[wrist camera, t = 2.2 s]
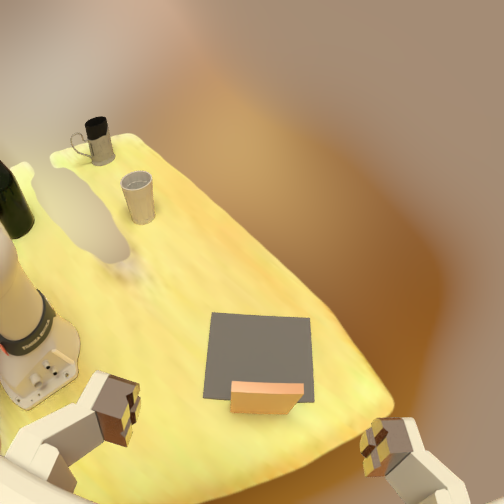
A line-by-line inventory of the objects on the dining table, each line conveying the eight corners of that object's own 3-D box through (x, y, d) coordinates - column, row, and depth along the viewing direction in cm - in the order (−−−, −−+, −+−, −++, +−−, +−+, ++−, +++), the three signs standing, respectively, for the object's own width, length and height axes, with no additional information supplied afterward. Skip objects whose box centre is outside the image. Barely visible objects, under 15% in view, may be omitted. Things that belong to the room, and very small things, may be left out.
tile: (286, 414, 51) (303, 393, 40) (230, 412, 51) (231, 391, 40) (286, 405, 52) (303, 382, 42) (230, 403, 52) (231, 380, 41)
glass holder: (118, 159, 99) (111, 120, 87) (81, 175, 92) (71, 137, 81) (110, 149, 103) (103, 113, 91) (75, 165, 96) (65, 128, 85)
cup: (163, 211, 83) (158, 175, 74) (146, 230, 78) (138, 193, 69) (141, 203, 84) (134, 167, 75) (123, 221, 79) (113, 185, 70)
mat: (314, 402, 53) (314, 401, 52) (203, 398, 52) (203, 397, 52) (309, 318, 64) (309, 317, 64) (212, 312, 64) (211, 312, 64)
